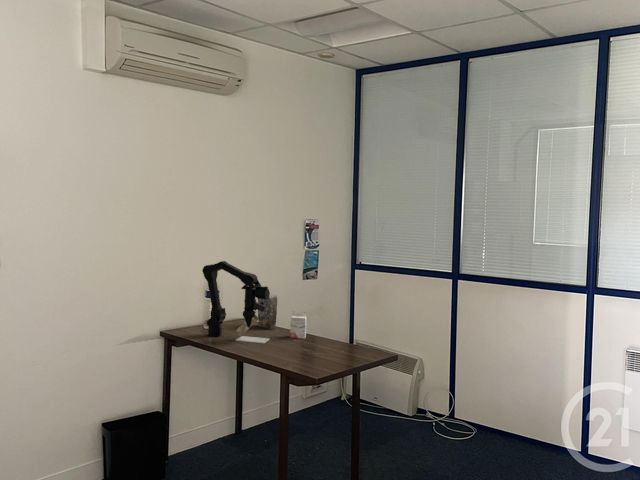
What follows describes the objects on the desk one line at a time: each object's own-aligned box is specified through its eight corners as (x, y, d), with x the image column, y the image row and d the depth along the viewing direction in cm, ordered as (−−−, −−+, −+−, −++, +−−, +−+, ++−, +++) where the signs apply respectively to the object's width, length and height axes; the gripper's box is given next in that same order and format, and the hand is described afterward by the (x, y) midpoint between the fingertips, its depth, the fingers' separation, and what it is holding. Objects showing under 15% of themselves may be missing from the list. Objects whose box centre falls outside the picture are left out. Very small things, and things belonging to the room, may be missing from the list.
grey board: (235, 340, 331) (235, 339, 331) (242, 336, 340) (242, 336, 340) (263, 343, 327) (263, 342, 327) (269, 339, 337) (269, 338, 337)
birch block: (235, 331, 331) (253, 315, 330) (236, 329, 336) (254, 313, 335) (240, 336, 331) (258, 319, 331) (241, 334, 336) (258, 317, 336)
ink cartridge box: (289, 337, 342) (290, 311, 341) (291, 335, 347) (291, 310, 346) (305, 338, 342) (305, 312, 341) (306, 336, 347) (307, 310, 346)
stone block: (255, 326, 370) (256, 293, 368) (264, 324, 375) (265, 292, 373) (269, 330, 360) (270, 296, 359) (278, 328, 365) (279, 295, 364)
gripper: (264, 301, 323) (263, 330, 324) (265, 295, 342) (264, 323, 343) (243, 300, 323) (242, 329, 324) (245, 294, 341) (244, 322, 342)
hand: (249, 326), depth 333 cm, fingers closed on birch block, 5 cm apart
